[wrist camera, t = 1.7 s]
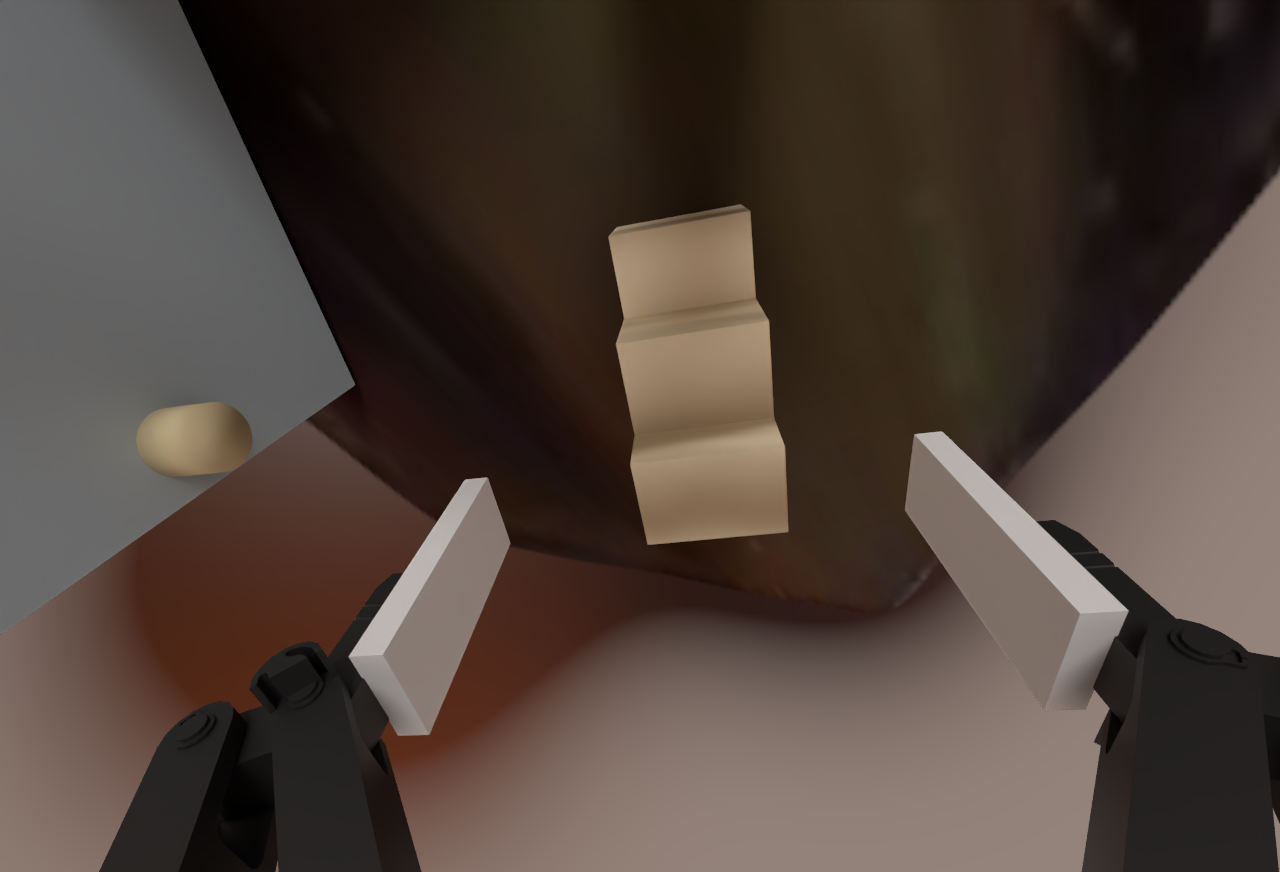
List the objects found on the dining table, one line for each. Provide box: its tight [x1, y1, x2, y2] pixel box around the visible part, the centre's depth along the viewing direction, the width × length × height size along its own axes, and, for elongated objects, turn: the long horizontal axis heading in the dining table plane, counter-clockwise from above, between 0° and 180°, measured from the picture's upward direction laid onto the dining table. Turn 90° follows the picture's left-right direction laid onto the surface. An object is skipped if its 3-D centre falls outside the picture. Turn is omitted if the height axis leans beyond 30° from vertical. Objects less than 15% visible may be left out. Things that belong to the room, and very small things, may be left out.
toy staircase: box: [608, 204, 788, 545], centre depth 19 cm, size 10×5×8 cm, turn 10°
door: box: [0, 0, 355, 635], centre depth 14 cm, size 16×3×15 cm, turn 9°
